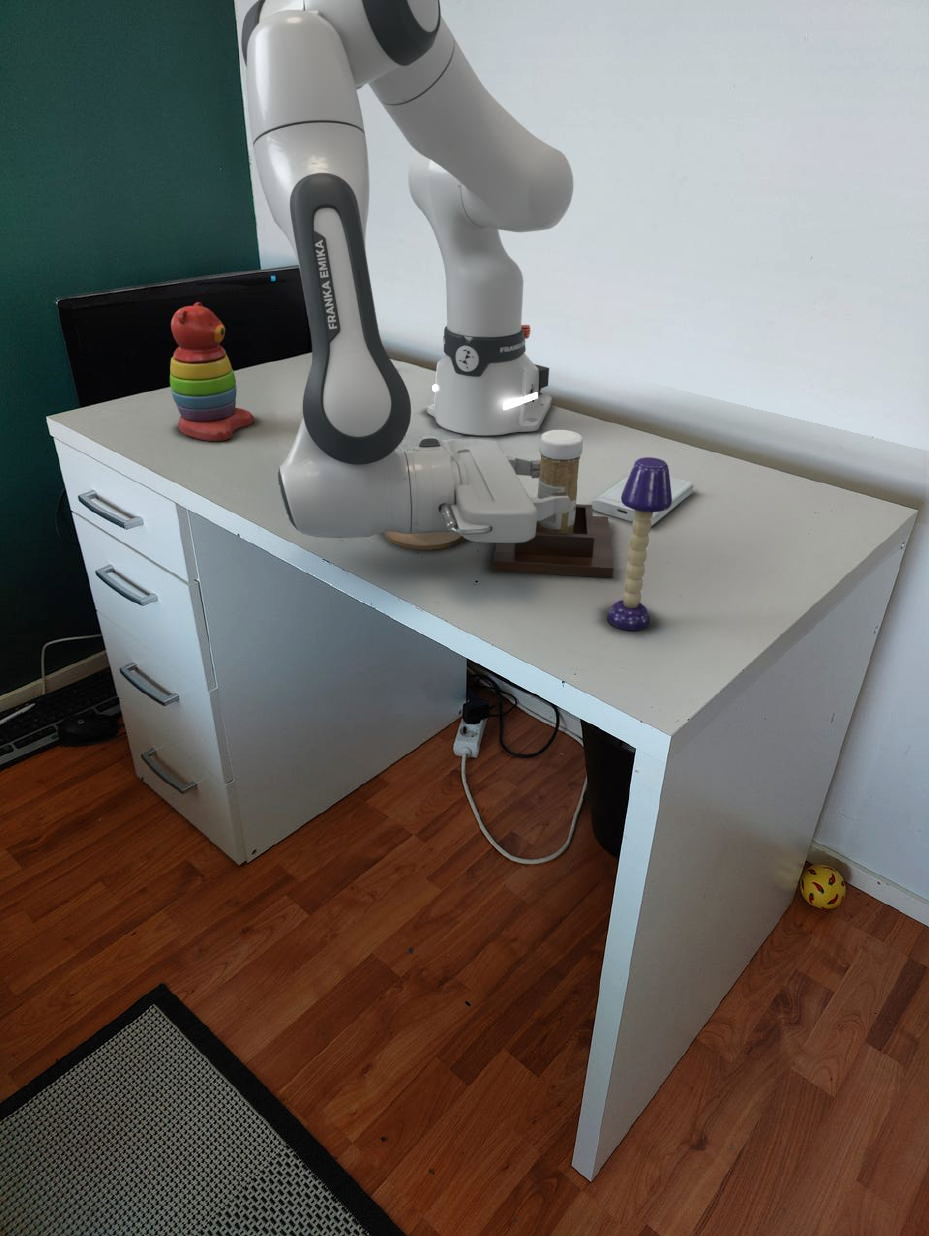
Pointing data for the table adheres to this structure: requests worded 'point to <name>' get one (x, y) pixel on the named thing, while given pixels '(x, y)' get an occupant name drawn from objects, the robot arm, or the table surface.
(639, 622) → the toy lamp
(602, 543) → the holder
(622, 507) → the hard drive
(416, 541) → the coaster
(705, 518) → the table surface
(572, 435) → the sprinkles bottle
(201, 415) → the stacking bear
